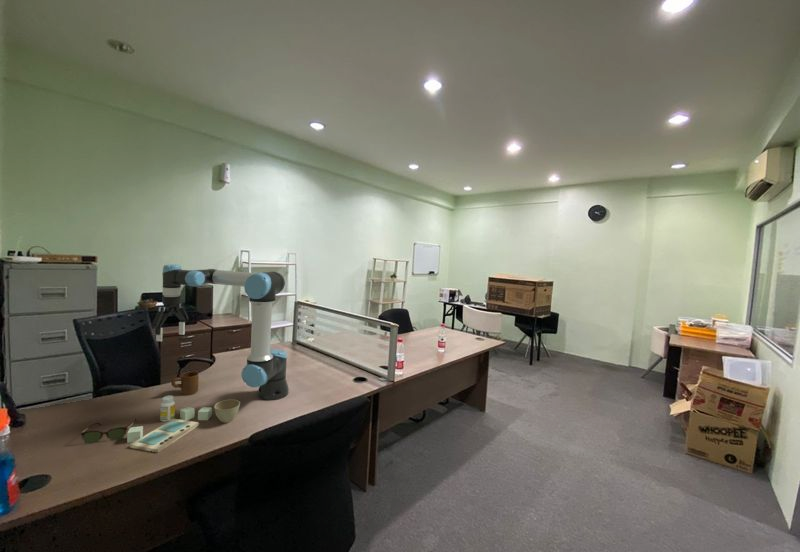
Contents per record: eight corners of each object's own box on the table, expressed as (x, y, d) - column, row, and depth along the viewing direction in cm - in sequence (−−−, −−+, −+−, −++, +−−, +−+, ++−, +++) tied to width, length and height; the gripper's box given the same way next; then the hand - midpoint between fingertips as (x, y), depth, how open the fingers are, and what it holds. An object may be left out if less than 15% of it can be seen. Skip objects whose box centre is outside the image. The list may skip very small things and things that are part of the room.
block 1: (142, 435, 133) (142, 425, 133) (140, 441, 130) (140, 431, 129) (130, 437, 131) (130, 427, 131) (127, 443, 128) (127, 432, 127)
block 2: (194, 417, 149) (194, 408, 149) (185, 421, 146) (185, 412, 145) (189, 414, 151) (189, 406, 151) (179, 418, 147) (180, 409, 147)
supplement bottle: (161, 423, 143) (161, 401, 142) (159, 418, 146) (159, 396, 146) (176, 419, 146) (176, 398, 146) (173, 414, 150) (174, 393, 149)
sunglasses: (79, 445, 125) (79, 432, 125) (96, 428, 138) (96, 416, 138) (127, 439, 131) (128, 426, 131) (139, 423, 144) (139, 411, 144)
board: (198, 425, 143) (198, 422, 143) (157, 452, 123) (157, 449, 123) (173, 421, 145) (173, 418, 145) (129, 447, 125) (129, 443, 125)
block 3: (211, 415, 151) (211, 407, 151) (207, 420, 147) (207, 411, 147) (202, 415, 151) (202, 407, 151) (197, 420, 147) (198, 411, 147)
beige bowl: (220, 414, 153) (220, 398, 153) (242, 414, 154) (243, 399, 153) (209, 425, 143) (210, 409, 143) (234, 426, 144) (234, 410, 144)
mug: (174, 399, 164) (174, 380, 163) (168, 394, 168) (168, 376, 168) (200, 392, 173) (201, 374, 173) (194, 387, 178) (195, 370, 177)
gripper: (184, 292, 181) (183, 331, 183) (142, 298, 156) (141, 343, 158) (197, 293, 180) (196, 332, 181) (156, 299, 155) (155, 345, 157)
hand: (170, 337), depth 170 cm, fingers open, 13 cm apart
